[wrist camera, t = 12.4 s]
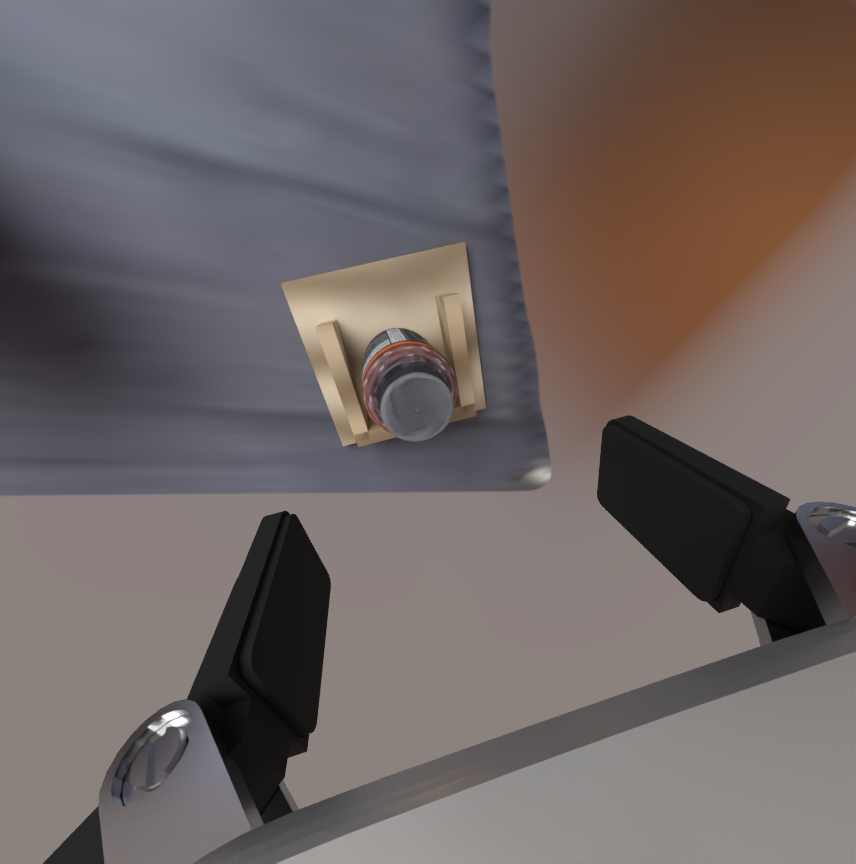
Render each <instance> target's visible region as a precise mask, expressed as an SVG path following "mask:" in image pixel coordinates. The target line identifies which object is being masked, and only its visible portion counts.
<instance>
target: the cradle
mask: <svg viewBox="0 0 856 864" xmlns="http://www.w3.org/2000/svg"><path fill="white" fill-rule="evenodd" d="M281 286H282V289H283V291H284V294H285V296H286V299H287V302H288V304H289V307H290V309H291V312H292V315H293V317H294V320H295V322H296V325H297V328H298V330H299V333H300V335H301V338H302V341H303V343H304V346H305V348H306V351H307V354H308V356H309V359H310V361H311V364H312V367H313V369H314V372H315V374H316V377H317V380H318V382H319V385H320V387H321V390H322V393H323V395H324V398H325V401H326V403H327V406H328V408H329V411H330V414H331V416H332V419H333V421H334V424H335V427H336V429H337V432H338V434H339V437H340V440H341V442H342V445H343V446H346V445H350V444H354V443H357V446H358V447H362V446H366V445H369V444H373V443H377V442H380V441H384V440H388V439H392V438H395V437H396V436H394V435H393V434H392V433H389V432H387V431H385V430H383V429H382V428H381V427H379V426H378V425H377V424H376V423H375V422H374V421H373V420H372V419H371V417H370V416H369V414H368V412H367V411H366V408H365V405H364V402H363V397H362V370H363V358H364V354H365V351H366V348H367V346H368V345H369V343H370V341H371V340H372V339H373V338H374V337H375V336H376V335H378V334H379V333H381V332H383V331H385V330H388V329H392V328H405V329H409V330H412V331H414V332H416V333H418V334H419V335H421V336H422V337H423V338H424V339H425V340H426V341H428V342H429V343H430V344H431V345H432V346H433V347H434V348H435V349H437V351H439V352H440V353H441V354H442V355H443V356H444V357H445V358H446V360H447V361H448V362H449V364H450V365H451V367H452V368H453V370H454V373H455V376H456V381H457V398H456V402H455V405H454V407H453V413H452V417H451V419H450V421H449V423H452V422H455V421H459V420H463V419H467V418H470V417H474V416H477V414H476V411H478V410H481V409H485V408H486V405H485V397H484V389H483V381H482V373H481V365H480V357H479V349H478V341H477V333H476V325H475V317H474V308H473V300H472V292H471V284H470V276H469V268H468V260H467V252H466V244H465V242H461V243H456V244H452V245H447V246H443V247H438V248H434V249H429V250H425V251H421V252H416V253H412V254H407V255H403V256H398V257H394V258H389V259H385V260H381V261H376V262H372V263H367V264H363V265H358V266H354V267H349V268H345V269H341V270H336V271H332V272H327V273H323V274H318V275H314V276H309V277H305V278H301V279H296V280H292V281H287V282H283V283H281Z"/></svg>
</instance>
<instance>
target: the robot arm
mask: <svg viewBox="0 0 856 864" xmlns="http://www.w3.org/2000/svg"><path fill="white" fill-rule="evenodd" d="M597 497H598V500H599V502H600V504H601V505H602V506H603V507H604V508H605V509H606V510H607V511H608V512H609V513H610V514H611V515H612V516H613V517H614V518H615V519H616V520H617V521H618V522H619V523H620V524H621V525H622V526H623V527H625V529H626V530H627V531H628V532H629V533H631V534H632V535H633V536H634V537H635V538H636V539H637V540H638V541H639V542H640V543H641V544H642V545H643V546H644V547H645V548H646V549H647V550H648V551H649V552H650V553H651V554H652V555H653V556H654V557H655V558H656V559H657V560H658V561H659V562H661V563H662V564H663V565H664V566H665V567H666V568H667V569H668V570H669V571H670V572H671V573H672V574H673V575H674V576H675V577H676V578H677V579H678V580H679V581H680V582H681V583H682V584H683V585H684V586H685V587H686V588H687V589H688V590H689V591H691V593H692V594H694V595H695V596H696V597H697V598H698V599H700V600H702V601H705V602H708V603H709V604H710V605H711V606H712V607H713V608H714V609H715V610H716V611H717V612H718V613H721V612H724V611H727V610H730V609H733V608H736V607H739V605H740V603H743V604H744V605H745V606H746V607H747V608H748V609H750V610H751V614H752V617H753V621H754V624H755V628H756V631H757V635H758V638H759V642H760V645H761V646H760V647H757V648H755V649H752V650H749V651H746V652H743V653H740V654H737V655H734V656H731V657H728V658H725V659H722V660H719V661H717V662H713V663H710V664H708V665H705V666H702V667H699V668H696V669H693V670H690V671H687V672H684V673H681V674H678V675H675V676H672V677H670V678H667V679H664V680H661V681H658V682H655V683H652V684H649V685H646V686H644V687H641V688H638V689H635V690H632V691H629V692H627V693H623V694H620V695H618V696H615V697H612V698H609V699H606V700H603V701H600V702H597V703H595V704H592V705H589V706H586V707H583V708H580V709H577V710H575V711H571V712H569V713H566V714H563V715H560V716H557V717H554V718H551V719H549V720H546V721H543V722H540V723H537V724H534V725H531V726H528V727H526V728H523V729H520V730H517V731H514V732H511V733H509V734H506V735H503V736H500V737H497V738H494V739H491V740H489V741H486V742H483V743H480V744H477V745H474V746H472V747H469V748H466V749H463V750H460V751H458V752H455V753H452V754H449V755H446V756H443V757H441V758H438V759H435V760H432V761H429V762H426V763H424V764H421V765H418V766H415V767H412V768H409V769H407V770H404V771H401V772H398V773H395V774H393V775H390V776H387V777H384V778H382V779H379V780H376V781H374V782H371V783H368V784H365V785H363V786H360V787H357V788H355V789H352V790H350V791H347V792H344V793H341V794H339V795H336V796H334V797H331V798H328V799H326V800H323V801H320V802H318V803H315V804H312V805H310V806H308V807H304V808H302V809H299V808H298V807H297V805H296V803H295V801H294V799H293V797H292V795H291V794H290V792H289V790H288V788H287V786H286V784H285V783H284V781H283V779H284V777H285V771H286V765H287V758H289V757H292V756H295V755H298V754H301V753H303V752H307V747H308V739H309V733H312V732H314V730H315V727H316V724H317V717H318V707H319V697H320V687H321V677H322V667H323V658H324V648H325V638H326V628H327V618H328V608H329V599H330V589H331V583H330V577H329V574H328V572H327V570H326V569H325V567H324V565H323V563H322V562H321V559H320V558H319V556H318V554H317V552H316V550H315V548H314V546H313V545H312V543H311V541H310V539H309V537H308V535H307V534H306V532H305V530H304V528H303V526H302V524H301V523H300V521H299V519H298V517H297V516H296V515H295V514H291V515H290V514H289V513H288V512H287V511H283V512H279V513H275V514H272V515H268V516H265V517H264V518H263V519H262V521H261V523H260V526H259V528H258V531H257V533H256V536H255V538H254V540H253V543H252V545H251V548H250V550H249V552H248V555H247V557H246V560H245V562H244V565H243V567H242V570H241V572H240V574H239V577H238V578H237V580H236V582H235V584H234V587H233V589H232V591H231V594H230V596H229V599H228V601H227V603H226V606H225V608H224V611H223V613H222V616H221V618H220V620H219V623H218V626H217V628H216V630H215V633H214V635H213V638H212V640H211V643H210V645H209V647H208V649H207V652H206V654H205V657H204V659H203V662H202V664H201V666H200V669H199V671H198V674H197V676H196V679H195V681H194V683H193V686H192V688H191V691H190V693H189V696H188V698H187V699H185V700H180V701H176V702H173V703H171V704H169V705H167V706H165V707H163V708H161V709H160V710H158V711H157V712H156V713H155V714H153V715H152V716H151V717H149V718H148V719H147V720H146V721H145V722H144V723H143V724H142V725H141V726H140V727H139V728H138V729H137V730H136V731H135V732H134V733H133V734H132V735H131V736H130V738H129V739H128V740H127V741H126V743H125V744H124V745H123V747H122V748H121V749H120V751H119V752H118V753H117V755H116V757H115V758H114V760H113V762H112V764H111V766H110V767H109V769H108V771H107V773H106V776H105V778H104V781H103V784H102V787H101V789H100V795H99V806H98V807H97V808H96V809H95V810H94V811H93V812H92V813H91V814H90V815H89V816H88V817H87V818H86V819H85V821H84V822H83V823H82V824H81V825H80V826H79V827H78V828H77V829H76V830H75V831H74V832H73V833H72V834H71V835H70V836H69V837H68V838H67V839H66V840H65V841H64V842H63V843H62V844H61V845H60V847H59V848H58V849H56V851H54V853H53V854H52V855H51V856H50V857H49V858H48V859H47V860H46V861H45V862H44V863H43V864H856V508H855V507H852V506H848V505H843V504H838V503H831V502H812V503H806V504H804V505H801V506H799V507H798V509H797V510H796V512H795V514H794V513H793V512H791V511H789V510H787V509H786V507H787V505H788V503H789V501H790V499H789V498H787V497H785V496H783V495H782V494H780V493H778V492H776V491H774V490H772V489H770V488H768V487H766V486H764V485H762V484H760V483H759V482H757V481H755V480H753V479H751V478H749V477H747V476H745V475H743V474H742V473H740V472H738V471H736V470H734V469H732V468H730V467H728V466H726V465H724V464H723V463H720V462H719V461H717V460H715V459H713V458H711V457H709V456H707V455H705V454H704V453H702V452H700V451H698V450H696V449H694V448H692V447H690V446H688V445H686V444H685V443H683V442H681V441H679V440H677V439H675V438H673V437H671V436H669V435H667V434H665V433H664V432H662V431H660V430H658V429H656V428H654V427H652V426H650V425H648V424H646V423H644V422H643V421H641V420H639V419H637V418H635V417H633V416H625V417H621V418H617V419H613V420H611V421H609V422H608V423H607V425H606V427H604V429H603V432H602V443H601V455H600V466H599V478H598V490H597Z"/></svg>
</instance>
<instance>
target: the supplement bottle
mask: <svg viewBox="0 0 856 864" xmlns="http://www.w3.org/2000/svg"><path fill="white" fill-rule="evenodd" d="M362 397H363V402H364V405H365V408H366V411H367V412H368V414H369V416H370V417H371V419H372V420H373V421H374V422H375V423H376V424H377V425H378V426H379V427H381V428H382V429H383V430H385V431H387V432H389V433H392V434H393V435H394V436H396V437H397V438H399V439H402V440H405V441H409V442H421V441H426V440H428V439H431V438H433V437H435V436H436V435H438V434H439V433H440V432H442V431H443V430H444V429H445V427H446V426H447V425H448V423H449V421H450V419H451V417H452V413H453V407H454V405H455V402H456V398H457V381H456V376H455V373H454V370H453V368H452V367H451V365H450V364H449V362H448V361H447V360H446V358H445V357H444V356H443V355H442V354H441V353H440V352H439V351H437V349H435V348H434V347H433V346H432V345H431V344H430V343H429V342H428V341H426V340H425V339H424V338H423V337H422V336H421V335H419V334H418V333H416V332H414V331H412V330H409V329H405V328H392V329H388V330H385V331H383V332H381V333H379V334H378V335H376V336H375V337H374V338H373V339H372V340H371V341H370V343H369V345H368V346H367V348H366V351H365V354H364V358H363V370H362Z"/></svg>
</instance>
